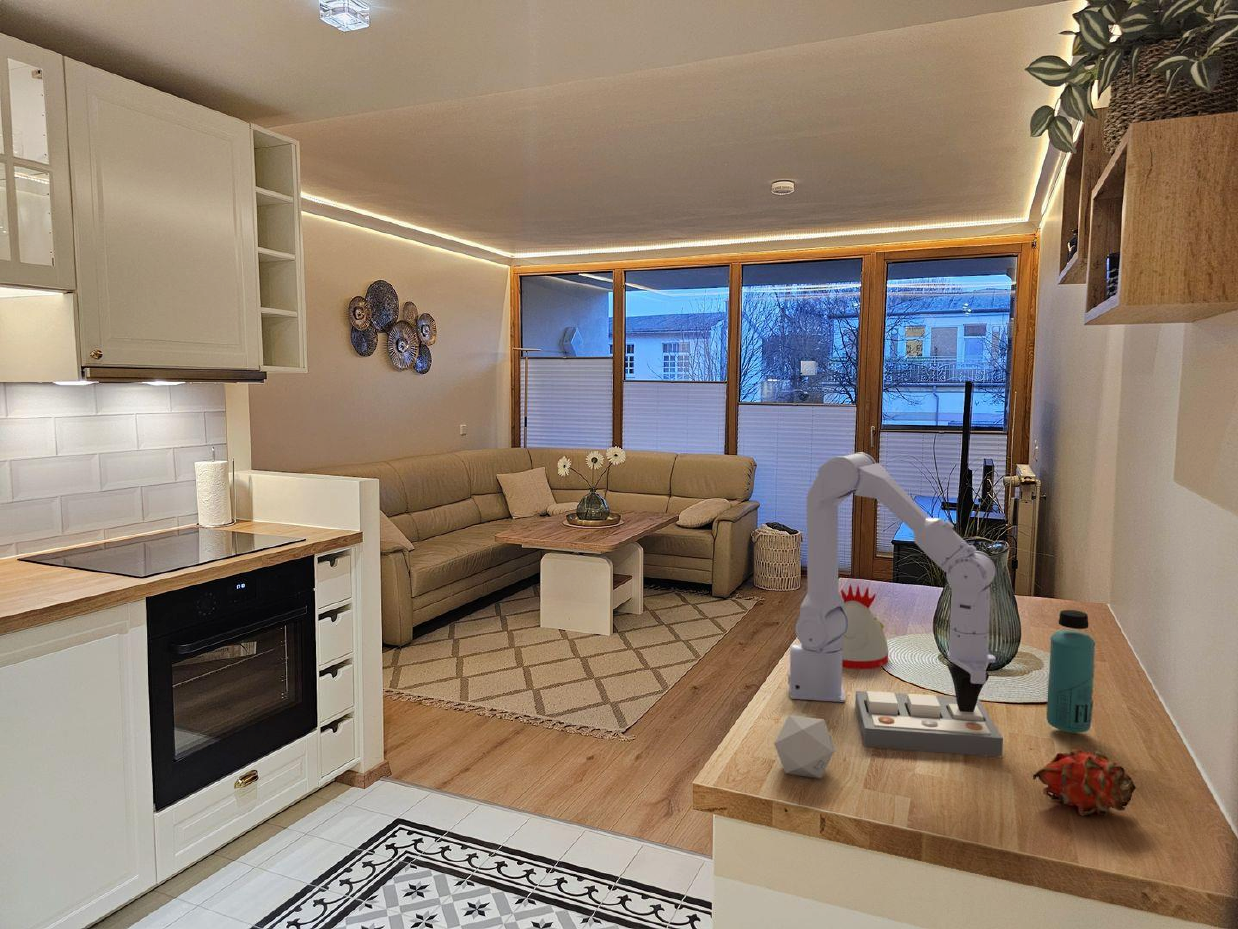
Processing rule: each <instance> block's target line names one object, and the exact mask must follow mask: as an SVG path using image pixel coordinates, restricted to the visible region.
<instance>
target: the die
mask: <svg viewBox="0 0 1238 929" xmlns="http://www.w3.org/2000/svg"><path fill="white" fill-rule="evenodd" d="M773 745H774V748H775V750H776V753H777V755H778V758H779V760H780V763H781V765H782V768H783V770H784V772H785V774H789V775H795V776H802V777H808V778H809V777H810V778H815V779H820V780H821V779H822V778H823V775H824V773H825V772H826V768H827V767H828V765H829V764H830V761H831V759H832V757H833V754H834V752H835V750H836V749H835V745H834V743H833V740H832V737H831V735H830V732H829V729H828V726H827V724H826V721H825V719H823V718H815V717H806V716H802V715H801V716H800V715H793V714H789V715H788V716H787V718H786V720H785V722H784V723H783V726H782V727H781V729H780V731H779V733H778V735H777V737H776V739H775V741H774V742H773Z"/></svg>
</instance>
